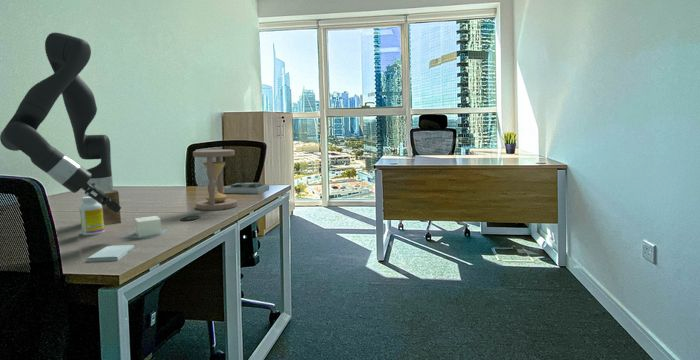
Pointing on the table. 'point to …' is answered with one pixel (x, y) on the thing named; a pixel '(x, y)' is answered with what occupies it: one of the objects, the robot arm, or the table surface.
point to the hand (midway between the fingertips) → (117, 208)
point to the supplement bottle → (91, 217)
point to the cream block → (148, 226)
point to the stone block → (247, 185)
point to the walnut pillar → (108, 214)
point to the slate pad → (134, 235)
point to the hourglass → (215, 170)
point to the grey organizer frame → (246, 189)
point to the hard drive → (110, 253)
